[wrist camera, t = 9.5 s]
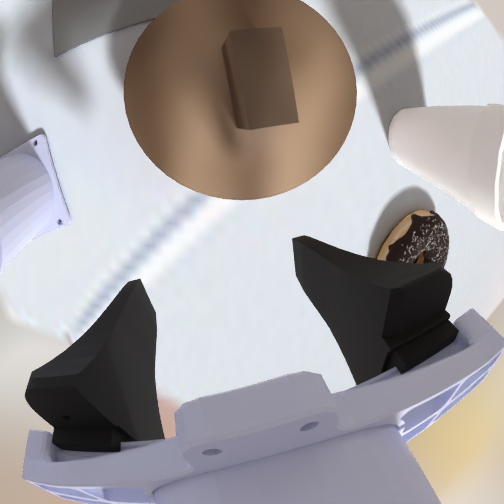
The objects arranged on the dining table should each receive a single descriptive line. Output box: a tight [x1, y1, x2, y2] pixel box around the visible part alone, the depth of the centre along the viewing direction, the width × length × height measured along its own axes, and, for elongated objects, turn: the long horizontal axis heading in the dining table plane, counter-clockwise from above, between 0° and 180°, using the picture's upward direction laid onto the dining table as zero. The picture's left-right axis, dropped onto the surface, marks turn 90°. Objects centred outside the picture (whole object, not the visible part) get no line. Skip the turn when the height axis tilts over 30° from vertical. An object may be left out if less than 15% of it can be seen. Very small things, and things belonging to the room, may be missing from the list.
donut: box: [377, 210, 449, 268], centre depth 28 cm, size 11×12×4 cm
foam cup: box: [388, 104, 504, 232], centre depth 17 cm, size 10×9×13 cm
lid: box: [124, 0, 357, 200], centre depth 12 cm, size 14×14×4 cm
